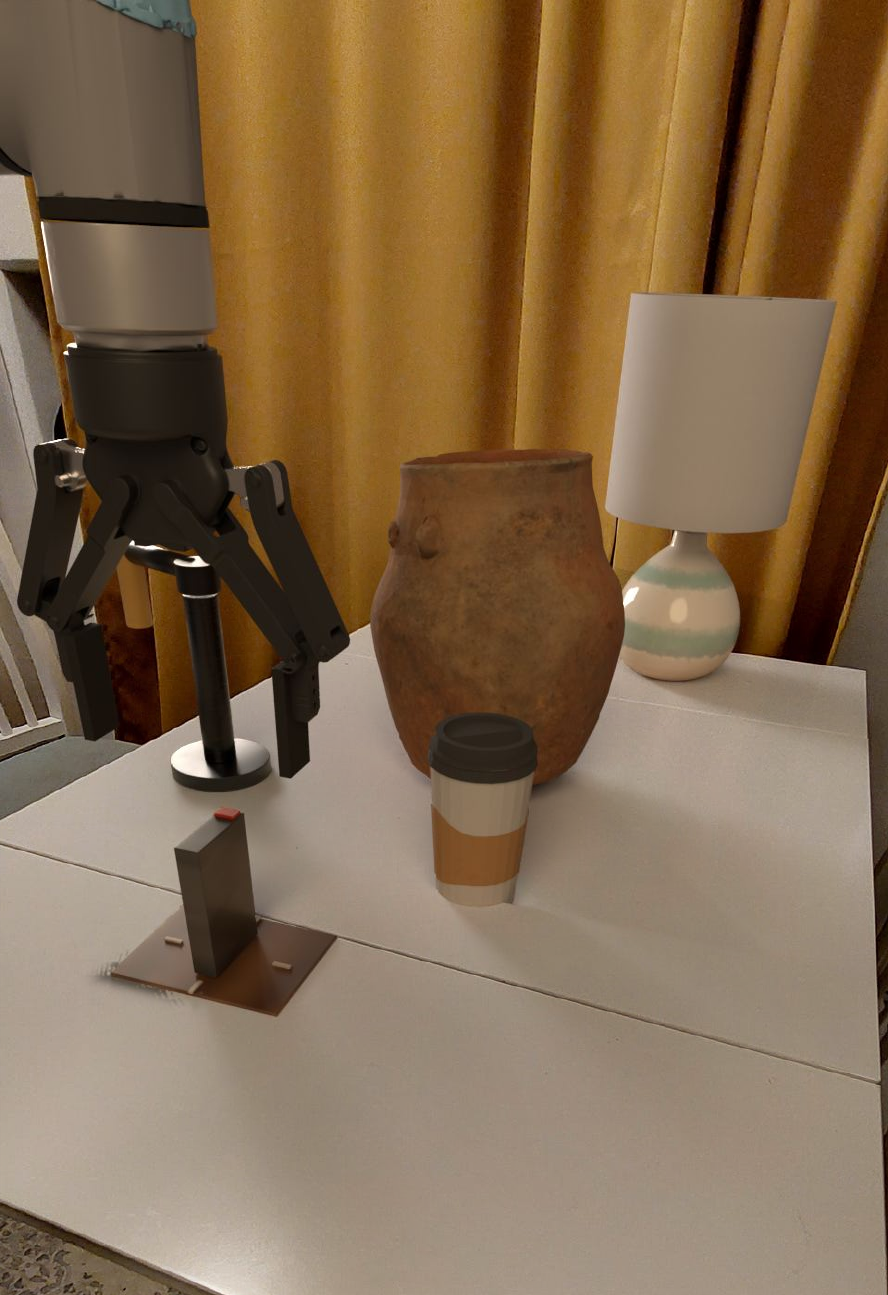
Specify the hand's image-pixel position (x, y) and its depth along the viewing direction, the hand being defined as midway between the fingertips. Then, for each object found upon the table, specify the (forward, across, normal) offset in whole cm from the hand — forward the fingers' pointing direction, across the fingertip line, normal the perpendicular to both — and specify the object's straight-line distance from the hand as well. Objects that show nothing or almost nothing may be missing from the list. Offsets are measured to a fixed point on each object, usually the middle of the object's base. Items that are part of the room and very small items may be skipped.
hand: (196, 751), depth 59 cm
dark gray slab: (+15, 0, 0) cm, 15 cm away
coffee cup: (+18, -14, -16) cm, 28 cm away
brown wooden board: (+18, 0, 0) cm, 18 cm away
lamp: (+18, -21, -81) cm, 86 cm away
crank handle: (+5, +22, -33) cm, 40 cm away
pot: (+18, -8, -41) cm, 45 cm away
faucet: (+18, +18, -31) cm, 40 cm away
